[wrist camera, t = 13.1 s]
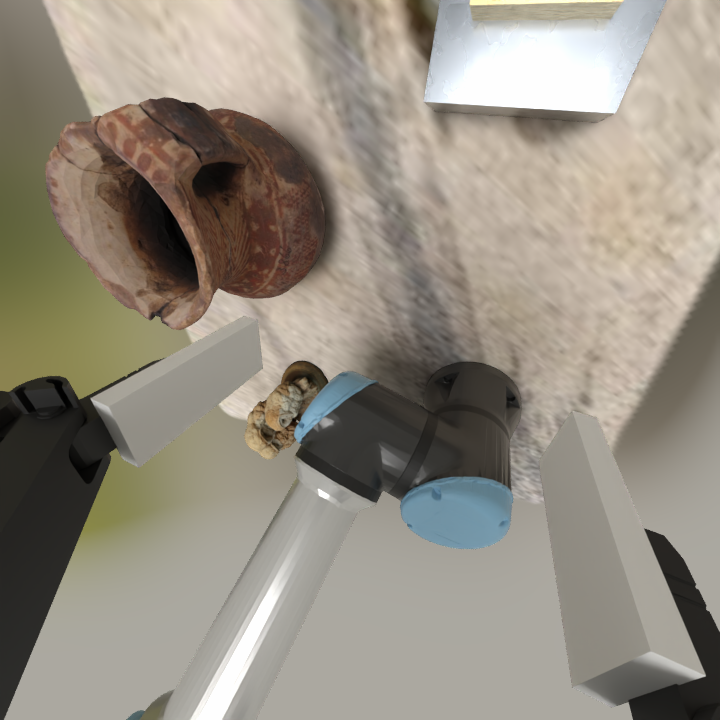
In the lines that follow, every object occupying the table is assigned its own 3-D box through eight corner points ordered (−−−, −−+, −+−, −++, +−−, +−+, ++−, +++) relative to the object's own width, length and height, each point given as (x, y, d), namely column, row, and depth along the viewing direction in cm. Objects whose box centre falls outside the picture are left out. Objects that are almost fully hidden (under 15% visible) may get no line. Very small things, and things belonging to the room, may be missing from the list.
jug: (330, 298, 51) (222, 379, 31) (229, 258, 54) (77, 308, 35) (356, 140, 37) (196, 109, 18) (220, 102, 41) (-33, 42, 22)
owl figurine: (324, 430, 70) (281, 491, 57) (282, 408, 72) (231, 463, 59) (336, 373, 59) (287, 433, 46) (286, 350, 61) (225, 401, 48)
